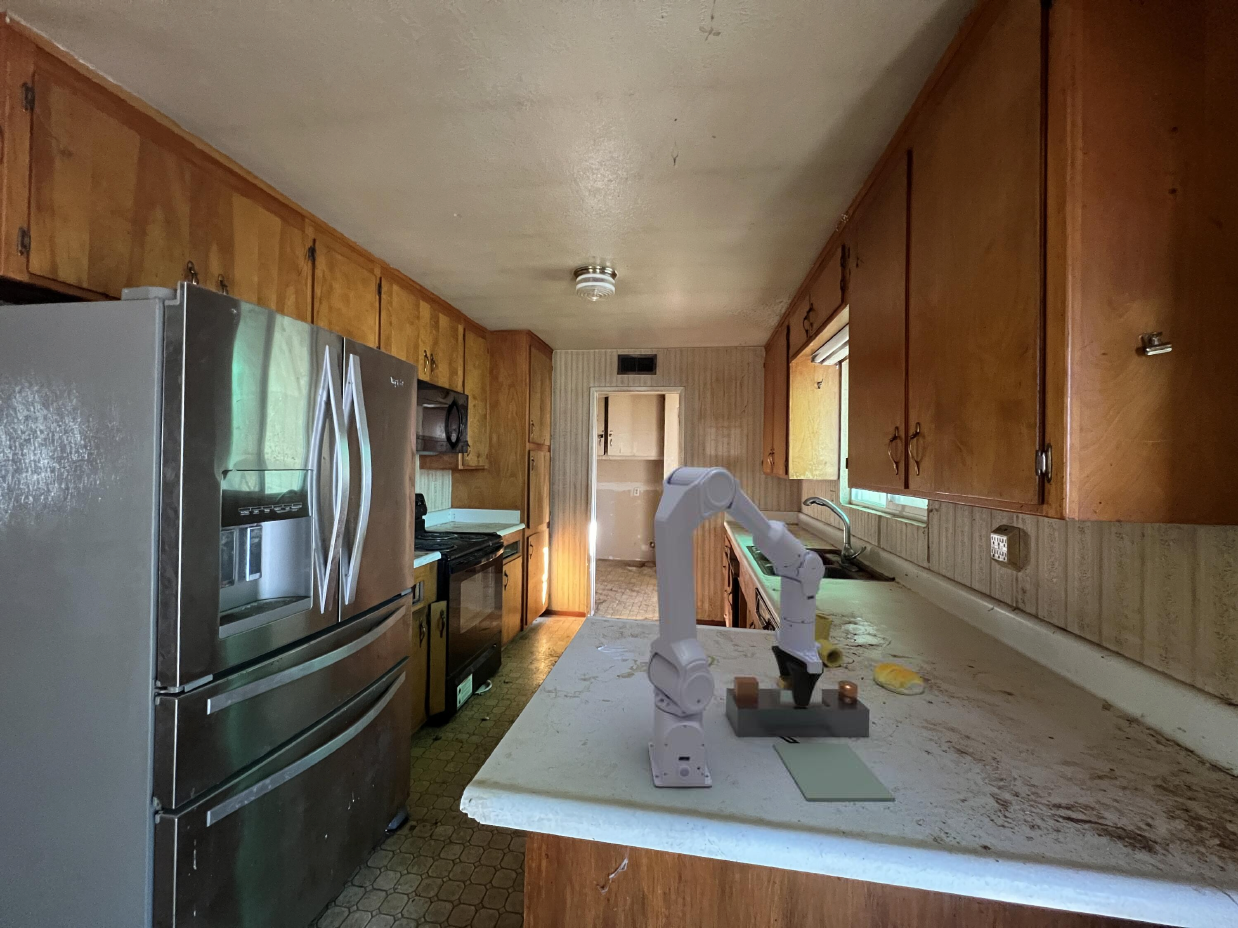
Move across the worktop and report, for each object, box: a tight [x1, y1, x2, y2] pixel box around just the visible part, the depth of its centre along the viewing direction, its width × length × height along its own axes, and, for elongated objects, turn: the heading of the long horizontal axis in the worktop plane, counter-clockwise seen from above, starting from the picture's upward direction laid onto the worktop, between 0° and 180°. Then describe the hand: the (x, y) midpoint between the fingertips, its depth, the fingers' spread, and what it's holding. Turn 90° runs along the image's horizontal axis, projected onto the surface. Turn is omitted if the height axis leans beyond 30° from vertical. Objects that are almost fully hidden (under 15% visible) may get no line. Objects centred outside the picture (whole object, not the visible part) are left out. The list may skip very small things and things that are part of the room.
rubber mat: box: [772, 742, 896, 802], centre depth 67 cm, size 12×12×1 cm
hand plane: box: [725, 676, 871, 738], centre depth 79 cm, size 7×22×8 cm, turn 92°
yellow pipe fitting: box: [815, 612, 844, 668], centre depth 109 cm, size 13×10×10 cm
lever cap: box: [769, 675, 822, 706], centre depth 79 cm, size 5×7×3 cm, turn 92°
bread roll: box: [872, 662, 925, 696], centre depth 95 cm, size 8×9×4 cm
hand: (795, 696), depth 79 cm, fingers closed on lever cap, 5 cm apart
